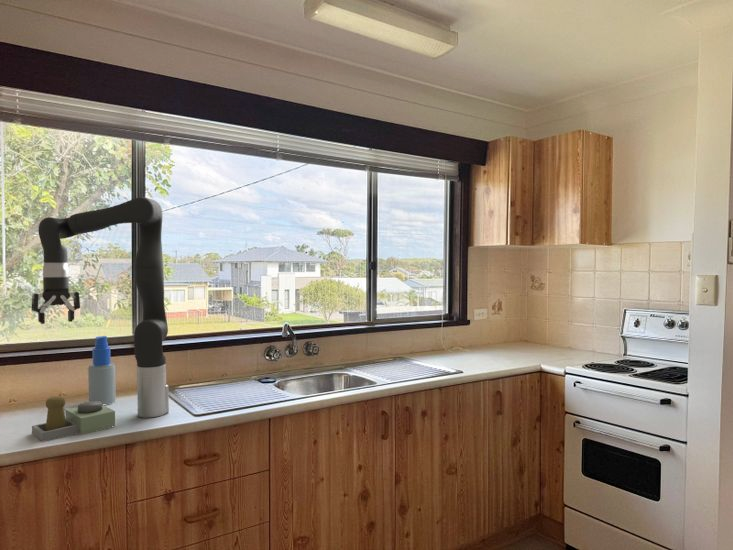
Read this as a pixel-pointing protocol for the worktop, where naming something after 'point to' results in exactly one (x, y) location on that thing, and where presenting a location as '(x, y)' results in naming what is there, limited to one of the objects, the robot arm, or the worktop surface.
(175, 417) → the worktop surface
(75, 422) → the stepped tray with pebble
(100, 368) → the spray bottle
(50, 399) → the olive brown upright piece
